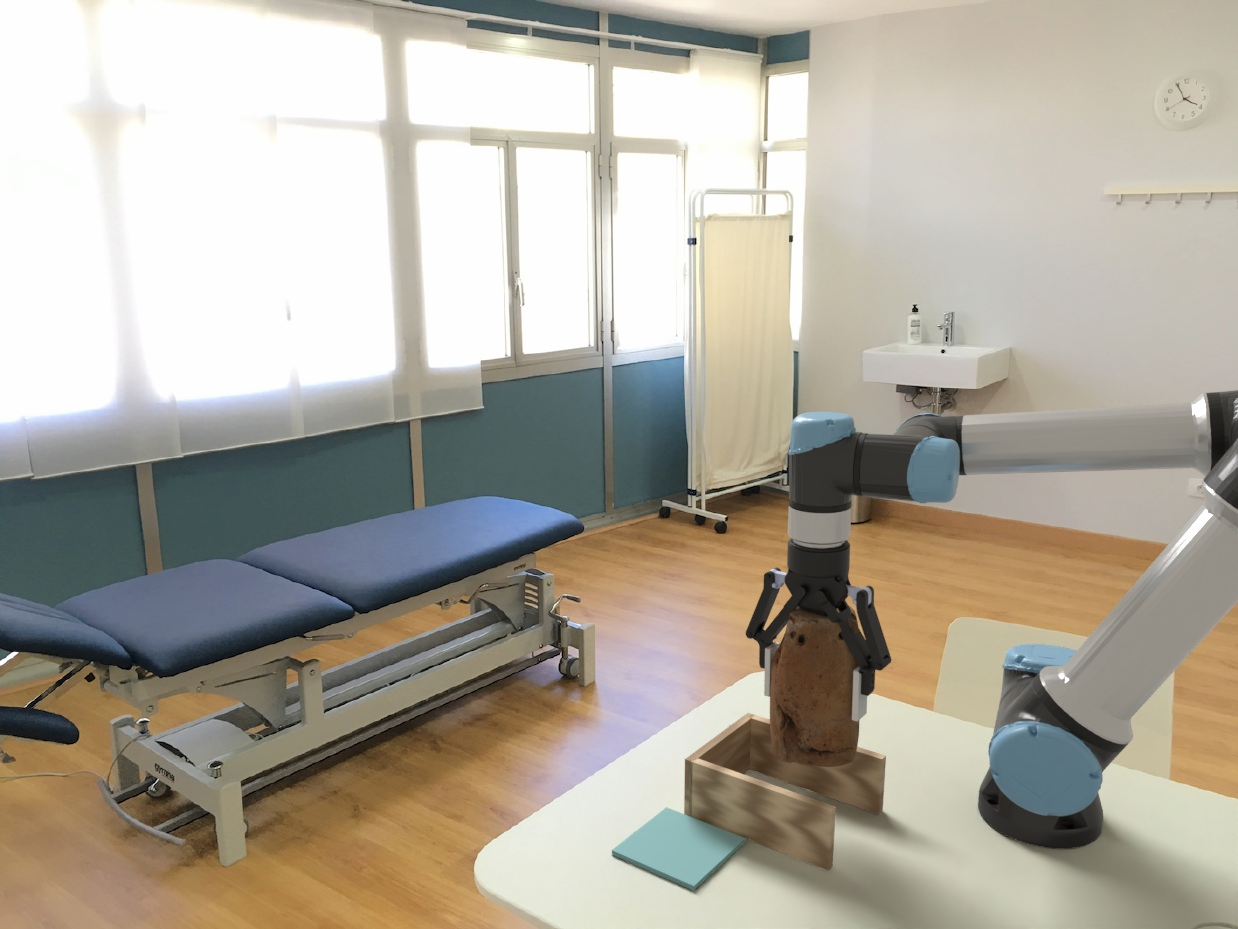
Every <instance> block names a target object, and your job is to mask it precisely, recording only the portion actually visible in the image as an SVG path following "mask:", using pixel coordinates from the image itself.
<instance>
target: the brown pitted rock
mask: <svg viewBox="0 0 1238 929" xmlns="http://www.w3.org/2000/svg"><path fill="white" fill-rule="evenodd" d="M848 606H849V608H850V610H851V615H852V617H853V619H851V618H848V624H849V626H850V628H851V629H852V630H853V631H854V632H855V633H858V632H859V629H860V628H859V622H858V616H857V613H856V610H854V608H853V607H852V606H850V605H849V604H848ZM837 611H838V613H839V610H838V608H837ZM840 632H842V630H841V628H840V626H839V623H837V622H831V621H830V619H829V617H828V615H825V616H823V615H819V614H817V613H815V612H807V611H804V610H802V609H801V608H800V607H799V606H797V607H796V608H795V609H794V610H793V611H792V612H790V614H789V620H788V622H787V624H786V626H785V632H784V634H783V637H782V639H781V641H780V642H779V643H780V646H779V648H778V649H777V650H776V652H775V655H774V657H773V661H772V668H771V684H770V697H769V719H770V733H771V743H772V749H773V752H774V754H775V756H776V758H777V759H778V760H780V761H784V762H788V763H792V762H794V763H798V764H800V765H806V766H821V767H836V766H842V765H846V764H849V763H851V762H852V761H853V760H854V759H855V755H856V751H857V747H858V745H859V744H858V742H859V736H860V720H859V721H858V722H857V721H853V720H852V699H853V671H854V670H855V669H856V668H857V667H859V666H858V664H857V662H856V660H855V659H854V657H853V655H852V653H851V652H850V650H849V648H848V646H847V645H846V643H845V641H844V639H843V637H842V636H841V634H840Z"/></svg>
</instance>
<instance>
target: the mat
mask: <svg viewBox="0 0 1238 929" xmlns="http://www.w3.org/2000/svg"><path fill="white" fill-rule="evenodd" d="M745 844H746V838H743V837H741V836H738V835H736V834H733V833H731V832H728V831H726V830H723V829H720V828H718V827H715V826H713V825H710V824H708V823H705V822H703V821H700V820H698V819H695V818H692V817H690V816H687V815H685V814H684V813H682V812H680V811H677V810H675V809H671V808H669V807H665V808H664V809H663V810H661V811H660V812H658V813H657V814H656V815H655V816H654V817H652V818H651V819H649V820H648V821H647V822H646V823H645V824H643V825H642V826H641V827H639V828H638V829H637V830H635V831H634V832H633V833H632V834H630V835H629V836H628V837H627V838H625V839H624V840H623V841H622V842H620V843H619V844H617V846H615V847H613V849H612V850H611V855H613V856H615V857H617V858H619V859H621V860H624V861H626V862H628V863H631V864H632V865H635V866H637V867H640V868H642V869H644V870H647V871H649V872H651V873H653V874H655V875H657V876H660V877H662V878H664V879H667V880H669V881H672V882H674V883H676V884H678V885H680V886H683V887H685V888H687V889H689V890H692V891H695V890H696V889H697V888H699V886H700V885H702V884H703V883H704V882H705V881H706V880H707V879H708V878H710V876H712V875H713V873H714V872H716V870H718V869H719V868H720V867H721V866H722V865H723V864H724V863H725V862H726V861H727V860H728V859H730V857H731V856H732V855H734V853H736V852H737V851H738V850H739V849H740V848H742V846H744V845H745Z"/></svg>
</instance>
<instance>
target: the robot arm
mask: <svg viewBox="0 0 1238 929" xmlns="http://www.w3.org/2000/svg"><path fill="white" fill-rule="evenodd" d="M856 430H857V428H856V426H855V420H854V418H853V416H851V415H850V414H848V413H845V412H843V413H842V412H841V413H840V412H835V411H810V412H804V413H800V414H799V415H797V416H795V417H794V418H793V420H792V422H791V428H790V440H789V442H790V443H789V449H788V453H787V454H788V458H789V459H788V461H789V462H788V468H789V469H788V480H789V481H788V488H789V489H788V496H789V497H788V512H787V513H788V514H787V515H788V516H787V517H788V518H787V536H788V537H790V538H789V540H787V549H786V550H787V551H786V552H787V559H786V561H787V562H786V565H787V572H784V571H782V570H781V569H780V567H774V568H772V569H769V570H768V571H766V572H765V573H764V574H763V585H762V586H763V588H762V591H761V594H760V596H759V598H758V601H757V603H756V606H755V608H754V611H753V613H752V616H751V618H750V620H749V623H748V626H747V628H746V630H745V636H746V638H747V639H751V640H754V641H756V642H757V643H758V647H759V649H758V655H759V659H758V661H759V662H758V663H759V667H760V669H764V680H763V681H764V685H763V687H764V690H763V694H764V696H765V697H768V698H770V684H771V668H772V661H773V657H774V655H775V652H776V650H777V649H778V648H779V646H780V643H781V642H778V641H775V640H776V639H778V636H779V634H780V633H781V632H782V630H783V629H784V628H786V626H787V622H788V620H789V614H790V612H792V611H793V610H794V609H795V608H796V607H797V606H799V607H800V608H801V609H802V610H804V611H807V612H815V613H817V614H819V615H823V616H825V615H828V617H829V619H830V621H831V622H837V623H839V626H840V628H841V630H842V632H840V634H841V636H842V637H843V639H844V641H845V643H846V645H847V646H848V648H849V650H850V652H851V653H852V655H853V657H854V659H855V660H856V662H857V664H858V666H859V667H857V668H856V669H855V670H854V671H853V699H852V720H853V721H857V722H858V721H859V722H860V720H861V719H863V717H865V715H867V714H868V713H867V711H868V710H867V709H868V696H870V695H871V694H872V693H874V690H875V688H876V687H875V685H876V681H875V680H876V671H883V669H885V668H886V667H887V666H888V665H890V664H891V663H892V657H891V654H890V650H889V648H888V645H887V642H886V638H885V635H884V632H883V628H882V626H881V623H880V619H879V616H878V613H877V610H876V607H875V588H874V587H873V586H871V585H867V586H864V587H859V586H855V585H852V584H851V582H850V578H849V572H850V562H851V560H850V559H851V558H850V557H851V555H850V554H851V544H850V542H849V541H848V540H849V539H850V538H851V530H852V529H851V523H852V521H851V520H852V519H851V518H852V498H853V496H857V497H867V498H875V499H876V498H879V499H888V500H898V501H904V502H905V501H906V502H907V501H909V502H916V503H919V504H927V503H941V504H942V503H950V502H951V501H953V500H954V498H955V497H956V493H957V489H958V487H959V486H958V484H959V478H960V476H968V475H969V476H971V475H973V476H974V475H975V476H976V475H1005V474H1006V475H1007V474H1008V475H1009V474H1011V475H1012V474H1036V473H1037V474H1038V473H1043V474H1044V473H1068V472H1069V473H1074V472H1075V473H1076V472H1077V473H1079V472H1105V471H1106V472H1108V471H1110V472H1112V471H1139V470H1141V471H1142V470H1143V471H1144V470H1145V471H1146V470H1170V469H1171V470H1174V469H1175V470H1176V469H1181V470H1182V469H1194V470H1196V471H1197V472H1199V473H1201V475H1203V476H1204V478H1203V479H1202V480H1201V486H1202V492H1203V497H1204V498H1203V503H1202V505H1201V506H1199V508H1198V509H1197V510H1196V512H1195V513H1194V514H1193V515H1192V516H1191V518H1189V520H1188V521H1187V522H1186V523H1185V524H1184V526H1183V527H1182V528H1181V529H1180V530H1179V532H1178V533H1176V535H1175V536H1174V537H1173V538H1172V539H1171V541H1169V543H1168V545H1166V547H1165V548H1164V549H1163V550H1162V551H1161V552H1160V554H1158V556H1157V557H1156V558H1155V559H1154V560H1153V562H1152V563H1151V564H1150V565H1148V566H1149V567H1147V568H1146V570H1145V571H1144V572H1143V573H1142V574H1141V576H1140V577H1139V578H1138V579H1137V581H1136V582H1135V583H1134V584H1133V585H1132V586H1131V587H1130V588H1129V590H1128V591H1127V592H1126V593H1125V594H1124V596H1123V597H1122V598H1121V599H1120V600H1119V601H1118V602H1117V603H1116V605H1115V606H1114V607H1113V609H1112V610H1110V612H1109V613H1108V614H1107V615H1106V617H1105V618H1104V619H1103V620H1102V621H1101V622H1100V623H1099V625H1098V626H1096V628H1095V629H1094V630H1093V631H1092V633H1090V634H1089V636H1088V637H1087V638H1086V639H1085V641H1084V642H1083V643H1082V644H1081V646H1079V648H1078V649H1074V648H1069V647H1064V646H1061V645H1053V644H1044V643H1042V644H1041V643H1025V644H1024V643H1023V644H1018V645H1014V646H1012V647H1010V648H1009V649H1007V651H1006V653H1005V656H1004V662H1003V664H1002V665H1001V666H1002V669H1003V673H1002V686H1001V692H1000V698H999V705H998V709H997V712H996V713H997V714H996V719H995V722H994V728H993V732H992V733H993V734H992V737H991V739H990V741H989V744H988V757H989V758H988V759H989V767H988V770H987V772H986V773H985V776H984V777H983V780H982V782H981V784H980V786H979V791H978V797H977V798H978V799H977V800H978V801H977V808H978V809H977V810H978V812H979V814H980V815H981V818H982V819H983V820H984V821H985V822H986V824H988V825H989V826H990V827H992V828H993V829H994V830H996V831H997V832H1000V833H1001V834H1003V835H1004V836H1006V837H1008V838H1010V839H1013V840H1015V841H1017V842H1021V843H1023V844H1026V845H1029V846H1030V845H1031V846H1036V847H1041V848H1046V849H1056V850H1068V849H1069V850H1070V849H1076V848H1077V849H1078V848H1082V847H1086V846H1088V845H1091V844H1093V843H1094V842H1095V841H1097V840H1098V838H1100V836H1101V834H1102V830H1103V821H1104V810H1103V805H1102V802H1101V799H1100V798H1101V797H1100V794H1099V791H1100V790H1101V788H1102V785H1103V784H1102V783H1103V781H1104V780H1103V772H1104V771H1105V770H1106V769H1107V768H1108V767H1109V765H1110V764H1111V763H1112V762H1113V761H1114V760H1115V759H1116V758H1117V757H1118V755H1119V754H1121V752H1122V751H1123V750H1124V749H1125V748H1126V747H1127V746H1128V745H1129V744H1130V743H1131V741H1133V739H1134V732H1133V727H1132V717H1134V716H1135V715H1136V713H1137V712H1138V711H1140V709H1141V708H1142V707H1143V706H1144V705H1145V704H1146V703H1147V701H1148V700H1150V698H1151V697H1152V696H1153V695H1154V694H1155V693H1156V692H1157V691H1158V689H1160V687H1161V686H1162V685H1163V684H1164V683H1165V682H1166V681H1167V680H1168V678H1169V677H1171V675H1172V674H1173V673H1174V672H1175V671H1176V670H1177V669H1178V668H1179V667H1180V666H1181V664H1182V663H1184V661H1185V660H1186V659H1187V658H1188V657H1189V656H1190V655H1191V654H1192V653H1193V652H1194V650H1195V649H1197V647H1198V646H1199V645H1200V644H1201V643H1202V642H1203V641H1204V639H1205V638H1206V637H1207V636H1208V635H1209V634H1210V633H1211V632H1212V631H1213V630H1214V628H1215V627H1216V626H1217V625H1218V624H1219V623H1220V622H1221V621H1222V620H1223V619H1224V618H1225V616H1227V615H1228V613H1229V612H1230V611H1231V610H1232V609H1233V608H1234V607H1235V606H1236V605H1237V604H1238V389H1236V390H1227V391H1216V392H1214V391H1213V392H1202V393H1200V394H1199V395H1198V396H1197V397H1196V398H1195V399H1194V400H1192V401H1191V402H1180V403H1179V402H1177V403H1161V404H1159V403H1158V404H1142V405H1129V406H1128V405H1127V406H1107V407H1091V408H1090V407H1087V408H1075V409H1074V408H1071V409H1053V410H1052V409H1051V410H1037V411H1019V412H1017V411H1016V412H1000V413H983V414H966V415H948V416H945V415H944V416H943V415H940V414H937V413H933V412H922V413H919V414H915V415H913V416H912V417H911V416H910V417H909V418H907V419H906V420H904V421H903V422H902V423H901V424H900V425H899V426H898V428H897V429H896V431H895V432H894V433H893V434H883V433H882V434H881V433H879V434H878V433H865V432H860V431H856ZM784 584H785V585H786V588H787V589H788V591H789V594H791V596H790V598H788V600H787V601H786V602H785V604H784V605H783V607H782V608H781V610H780V611H779V613H778V614H777V615H776V616H775V617H774V618H773V620H772V621H771V622H770V623H769V625H768V626H767V628H766V629H765V626H766V623H767V621H768V618H769V616H770V613H771V611H772V609H773V606H774V604H775V602H776V599H777V597H778V595H779V592H780V590H781V588H782V587H784ZM848 597H850V598H851V599H852V604H853V606H855V607H856V615H857V618H858V621H859V623H860V626H861V629H862V631H861V629H860V628H859V632H858V633H855V632H854V631H853V630H852V629H851V628H850V626H849V624H848V618H851V619H853V617H852V615H851V610H850V608H849V606H850V605H849V604H848V603H847V601H846V600H847V598H848ZM848 605H849V606H848ZM837 608H838V610H839V613H838V611H837Z"/></svg>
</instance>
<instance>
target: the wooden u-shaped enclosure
mask: <svg viewBox="0 0 1238 929" xmlns="http://www.w3.org/2000/svg"><path fill="white" fill-rule="evenodd" d="M886 762H887V755H886V754H882V753H878V752H876V751H872V750H870V749H866V748H863V747H859V746H857V751H856V755H855V759H854V760H853V761H852V762H851V763H849V764H846V765H842V766H836V767H821V766H806V765H800V764H798V763H794V762H792V763H788V762H784V761H780V760H778V759H777V758H776V756H775V754H774V752H773V749H772V743H771V733H770V718H765V717H763V716H759V715H756V714H753V713H750V712H747V713H746V714H744V715H743V716H742V717H740V718H739V719H737V720H736V721H734V723H732V724H730V725H729V726H728V727H727V728H725V729H724V730H723V731H721V732H720V733H718V734H717V735H716V736H714V737H713V738H711V739H710V740H709V741H707V742H706V743H705V744H704V745H702V746H700V748H698V749H697V750H695V751H694V752H693V753H692V754H690V755H689V756H687V757H686V758H684V796H683V797H684V798H683V799H684V804H683V805H684V806H683V809H684V810H683V814H685V815H687V816H690V817H692V818H695V819H698V820H700V821H703V822H705V823H708V824H710V825H713V826H715V827H718V828H720V829H723V830H726V831H728V832H731V833H733V834H736V835H738V836H741V837H743V838H745V840H748V841H751V842H754V843H756V844H759V845H761V846H764V847H766V848H769V849H771V850H773V851H776V852H780V853H781V854H784V855H787V856H789V857H791V858H794V859H797V860H798V861H799V860H800V861H803V862H805V863H807V864H810V865H812V866H814V867H817V868H820V869H823V870H824V871H826V872H827V871H828V872H829V871H830V870H831V869H832V868H833V867H834V853H835V852H834V850H835V830H836V829H835V828H836V811H837V808H836V806H835V805H832V804H829V803H827V802H823V801H821V800H817V799H815V798H812V797H809V796H807V795H806V796H805V795H803V794H800V793H798V792H795V791H791V790H790V789H786V788H783V787H781V786H777V785H774V784H772V783H770V782H766V781H764V780H761V779H757V778H755V777H752V776H750V775H747V774H746V773H747V772H749V771H753V772H755V773H757V774H761V775H764V776H767V777H769V778H773V779H776V780H778V781H781V782H784V783H787V784H790V785H792V786H796V787H798V788H801V789H803V790H808V791H810V792H813V793H816V794H818V795H821V796H824V797H827V798H830V799H833V800H835V801H840V802H842V803H844V804H848V805H850V806H853V807H856V808H859V809H862V810H865V811H867V812H870V813H873V814H877V815H881V813H882V812H883V811H884V793H885V781H886V780H885V779H886Z"/></svg>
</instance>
